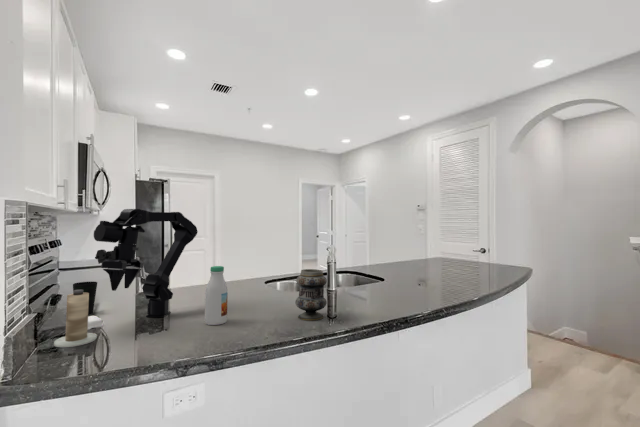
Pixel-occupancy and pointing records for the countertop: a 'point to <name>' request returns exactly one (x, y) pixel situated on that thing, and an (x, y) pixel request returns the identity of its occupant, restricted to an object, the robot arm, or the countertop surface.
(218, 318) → the milk bottle
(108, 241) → the robot arm
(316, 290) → the apothecary jar
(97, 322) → the soap
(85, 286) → the cup
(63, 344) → the saucer
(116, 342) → the countertop surface
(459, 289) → the countertop surface
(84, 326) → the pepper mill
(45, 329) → the countertop surface
